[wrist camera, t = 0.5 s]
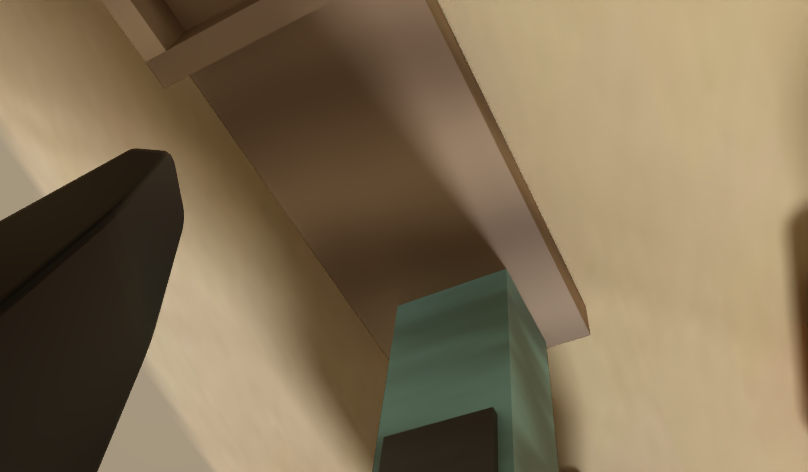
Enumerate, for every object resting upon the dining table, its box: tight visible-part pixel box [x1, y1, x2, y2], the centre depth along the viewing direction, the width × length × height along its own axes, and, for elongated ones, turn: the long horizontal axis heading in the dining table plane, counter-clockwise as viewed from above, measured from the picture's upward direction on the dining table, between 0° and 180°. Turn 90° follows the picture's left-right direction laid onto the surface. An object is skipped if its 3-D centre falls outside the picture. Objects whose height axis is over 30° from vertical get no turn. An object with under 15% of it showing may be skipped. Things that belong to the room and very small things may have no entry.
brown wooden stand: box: [100, 0, 590, 472], centre depth 16 cm, size 22×7×14 cm, turn 28°
